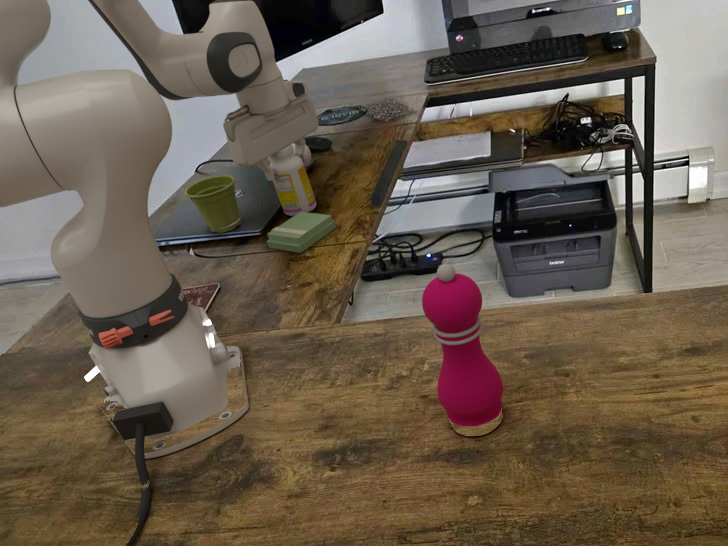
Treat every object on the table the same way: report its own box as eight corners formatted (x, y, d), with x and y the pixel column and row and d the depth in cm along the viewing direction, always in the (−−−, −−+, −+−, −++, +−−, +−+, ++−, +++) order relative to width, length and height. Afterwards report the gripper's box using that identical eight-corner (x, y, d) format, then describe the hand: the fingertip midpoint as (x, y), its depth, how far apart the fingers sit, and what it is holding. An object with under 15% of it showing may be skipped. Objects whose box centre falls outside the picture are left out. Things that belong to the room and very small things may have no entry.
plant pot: (252, 228, 131) (236, 185, 125) (203, 242, 129) (185, 200, 123) (247, 211, 138) (232, 171, 133) (201, 225, 136) (184, 184, 131)
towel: (301, 253, 118) (296, 239, 117) (268, 248, 122) (263, 234, 121) (336, 227, 125) (332, 214, 123) (305, 223, 129) (300, 210, 127)
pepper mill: (437, 411, 78) (399, 260, 67) (494, 390, 80) (466, 239, 68) (457, 450, 73) (419, 292, 61) (518, 426, 74) (493, 269, 62)
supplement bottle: (310, 199, 138) (290, 138, 130) (322, 208, 133) (302, 145, 126) (279, 211, 136) (257, 148, 128) (290, 220, 131) (268, 156, 123)
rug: (388, 99, 190) (388, 95, 190) (416, 112, 176) (415, 109, 175) (356, 108, 187) (355, 105, 187) (382, 123, 173) (381, 119, 172)
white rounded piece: (321, 169, 152) (312, 137, 147) (292, 181, 149) (281, 148, 144) (301, 161, 159) (291, 130, 154) (273, 172, 155) (262, 140, 151)
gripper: (233, 117, 113) (261, 194, 121) (312, 79, 126) (332, 151, 135) (208, 116, 116) (237, 192, 124) (288, 80, 129) (309, 150, 138)
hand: (287, 170), depth 130 cm, fingers closed on supplement bottle, 6 cm apart
